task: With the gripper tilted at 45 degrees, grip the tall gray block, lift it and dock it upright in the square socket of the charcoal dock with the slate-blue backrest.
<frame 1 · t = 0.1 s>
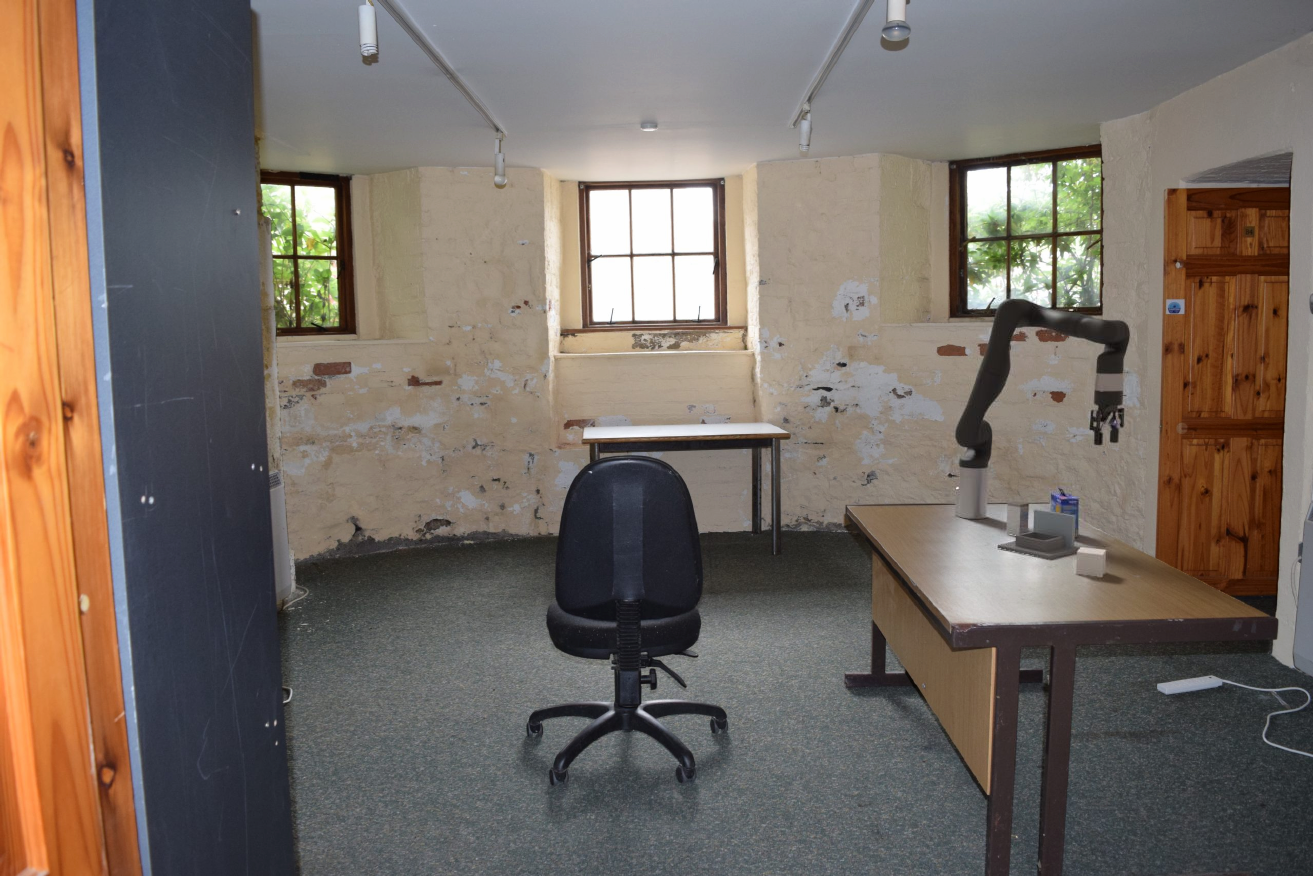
hand: (1106, 443, 256), 29 cm above the table, tool pointing down, fingers open, 8 cm apart
tall gray block: (1017, 534, 269), on the table
white cube: (1090, 574, 225), on the table
dock: (1039, 549, 250), on the table
ink cartridge box: (1063, 534, 269), on the table
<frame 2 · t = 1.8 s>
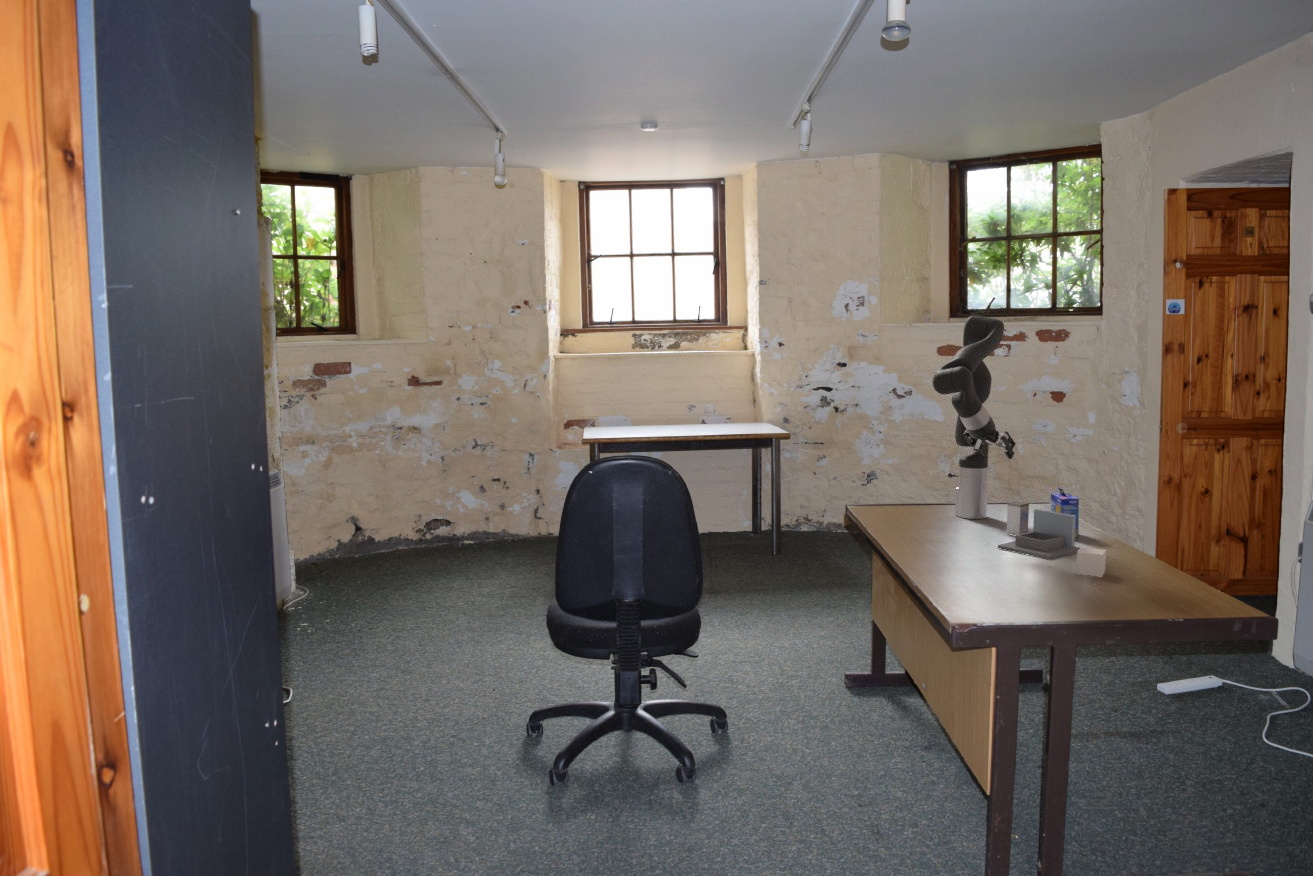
hand: (998, 455, 260), 26 cm above the table, tool tilted 45°, fingers open, 8 cm apart
nothing on the table moved.
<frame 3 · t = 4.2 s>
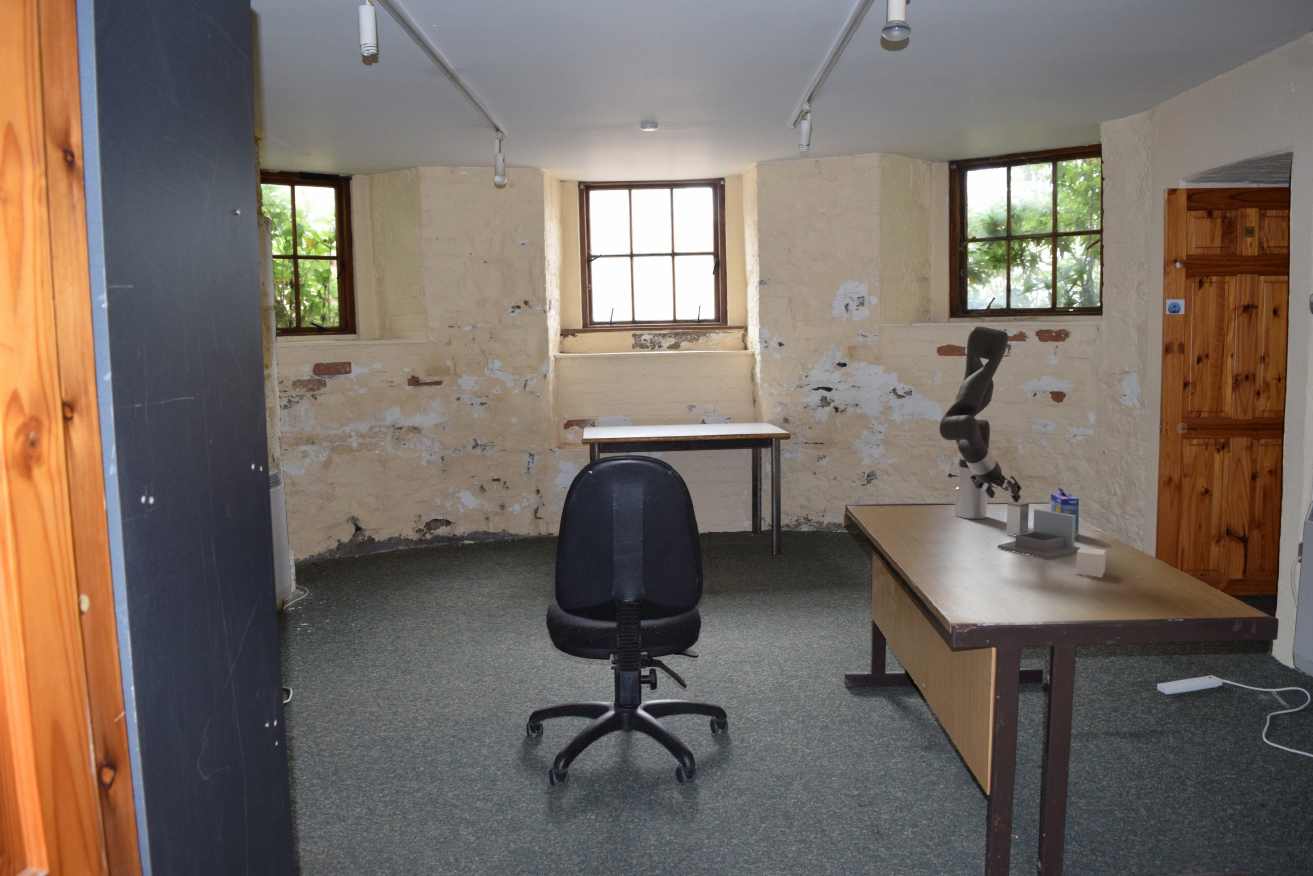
hand: (1005, 497, 264), 12 cm above the table, tool tilted 45°, fingers open, 8 cm apart
nothing on the table moved.
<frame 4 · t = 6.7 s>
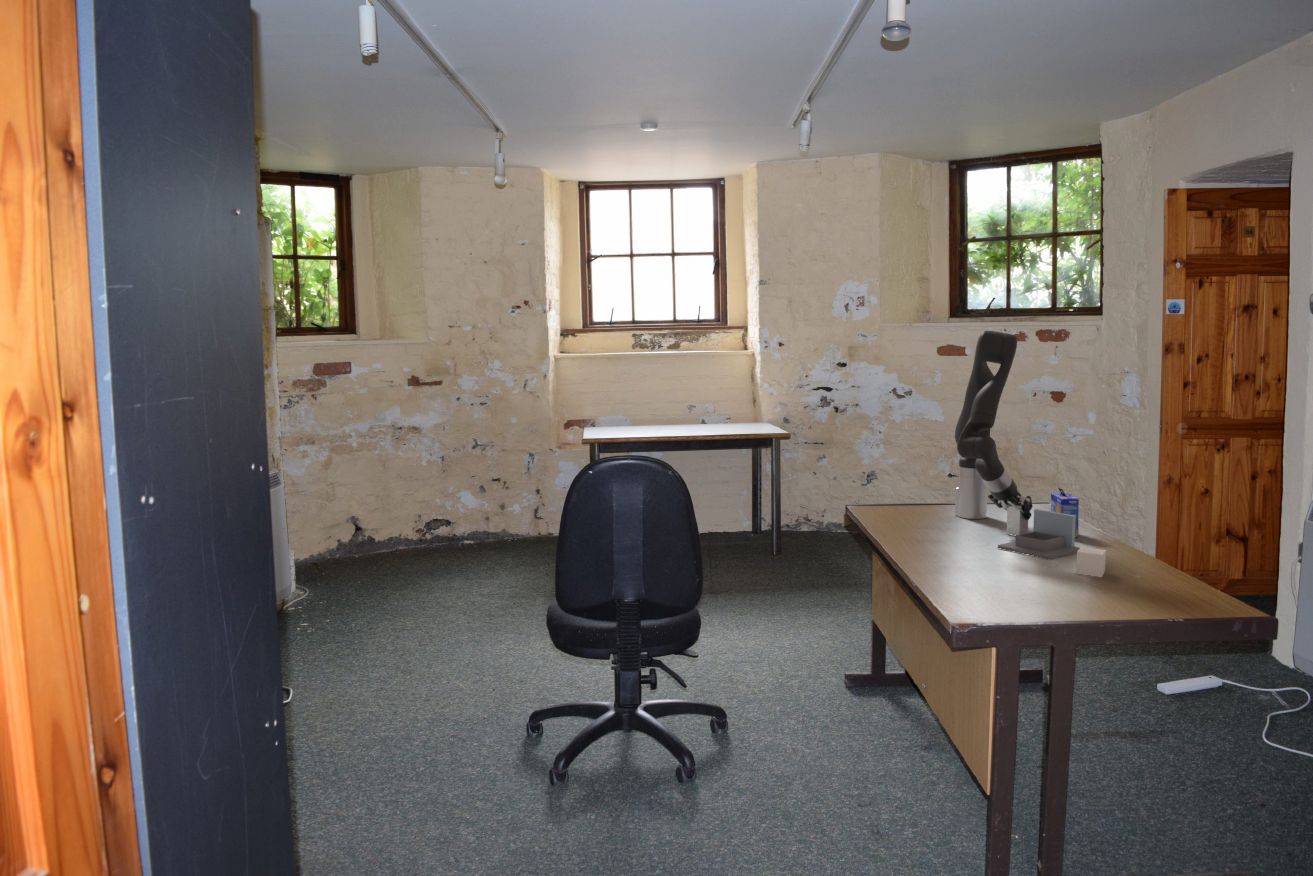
hand: (1021, 516, 269), 6 cm above the table, tool tilted 45°, fingers closed on tall gray block, 4 cm apart
tall gray block: (1017, 534, 269), on the table, touching gripper
everything else where it was.
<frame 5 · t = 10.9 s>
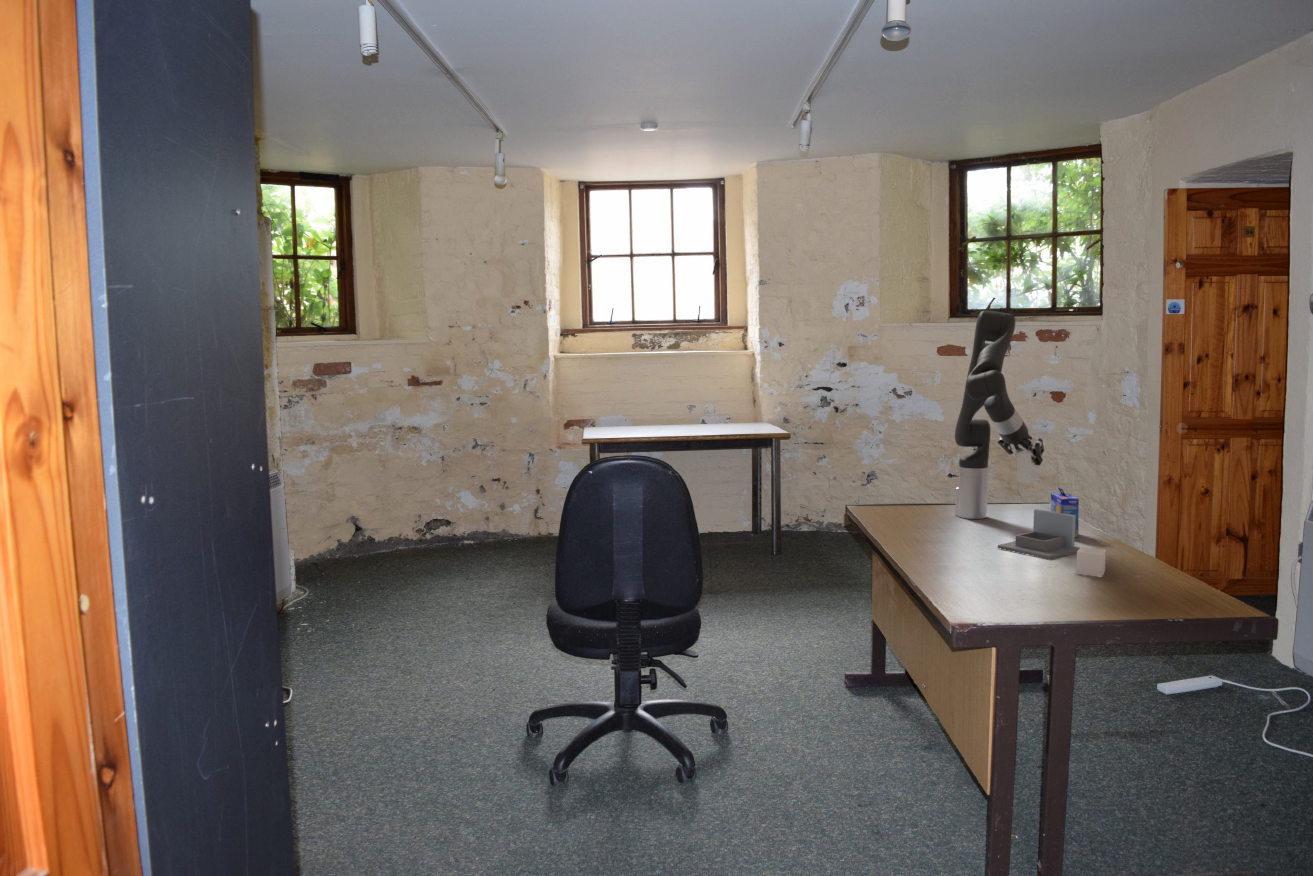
hand: (1032, 462, 260), 24 cm above the table, tool tilted 45°, fingers closed on tall gray block, 4 cm apart
tall gray block: (1027, 481, 259), point 18 cm above the table, touching gripper
everything else where it was.
when the fingers open (8 cm above the table, at t = 15.1 s): tall gray block drops 1 cm, resting on dock.
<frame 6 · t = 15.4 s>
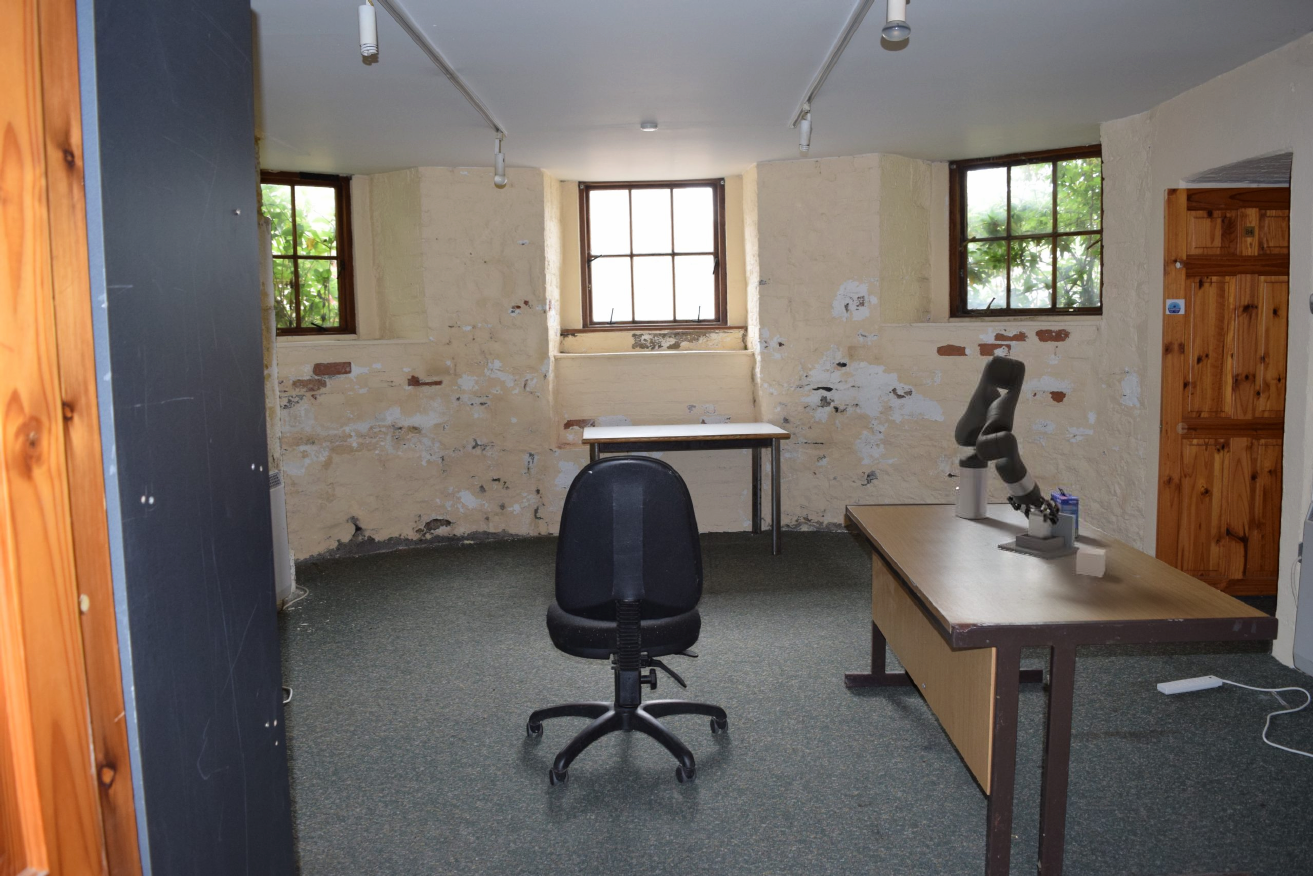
hand: (1043, 520, 250), 8 cm above the table, tool tilted 45°, fingers open, 7 cm apart
tall gray block: (1039, 546, 250), point 1 cm above the table, touching dock
everything else where it was.
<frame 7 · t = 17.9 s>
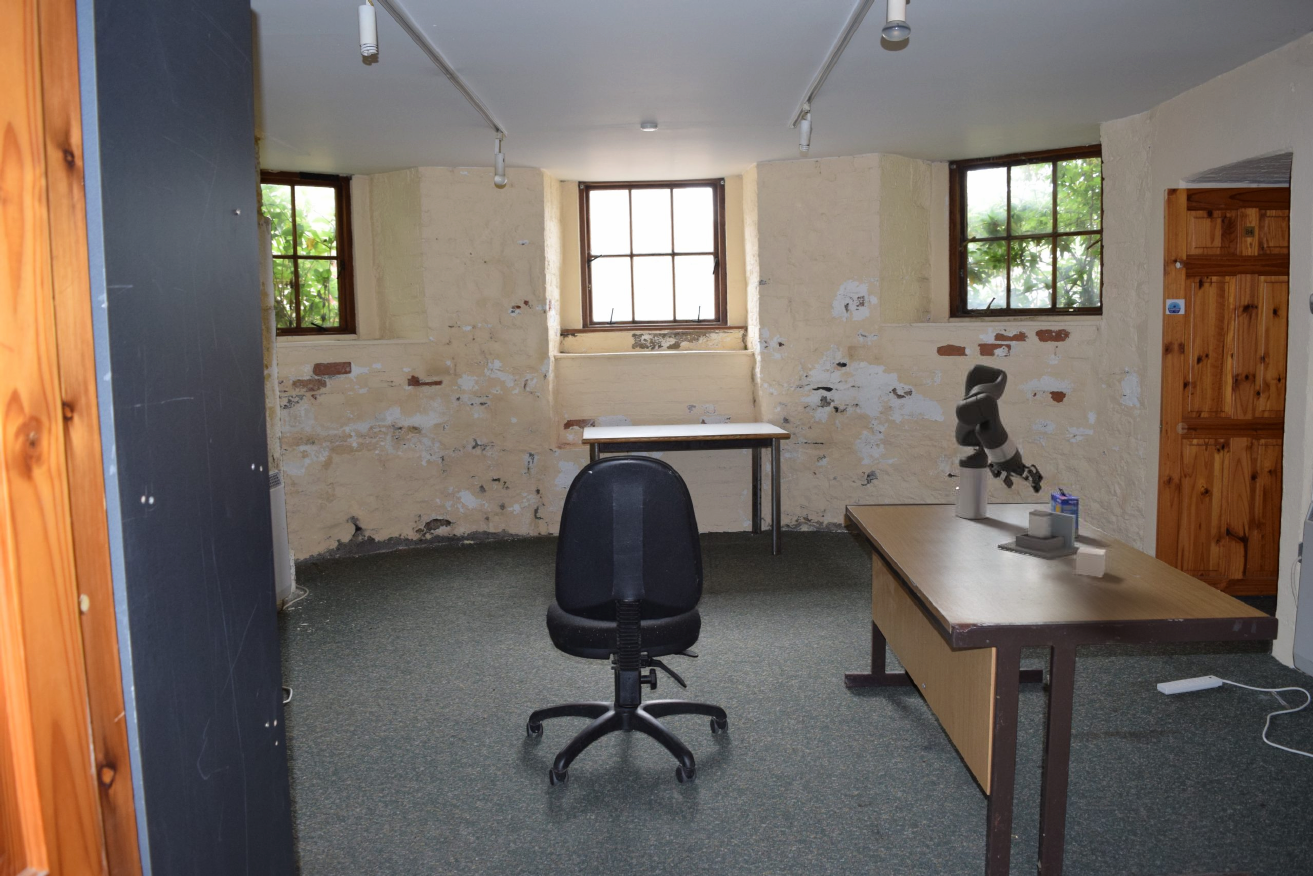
hand: (1024, 488, 243), 19 cm above the table, tool tilted 45°, fingers open, 8 cm apart
nothing on the table moved.
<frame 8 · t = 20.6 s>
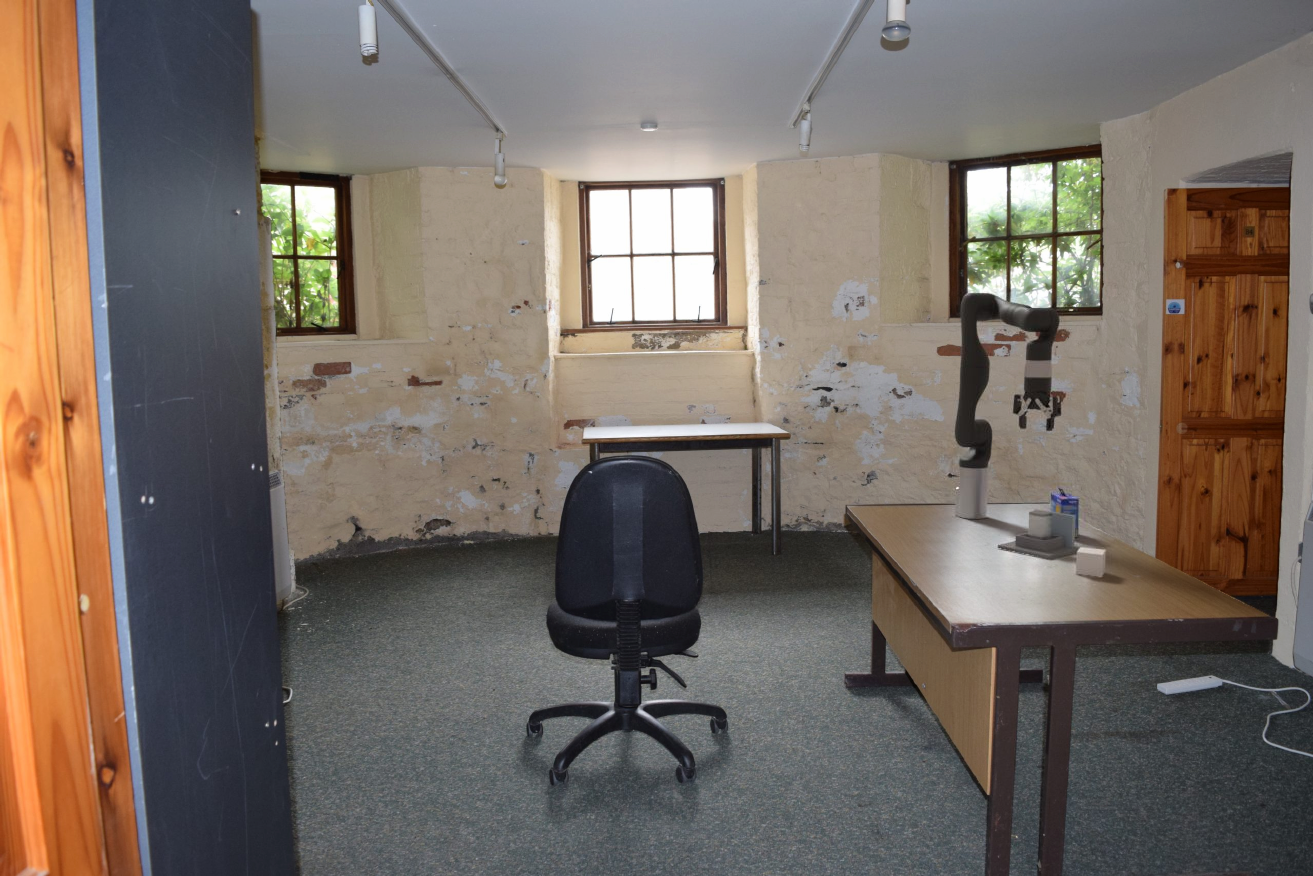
hand: (1035, 429, 261), 33 cm above the table, tool pointing down, fingers open, 8 cm apart
nothing on the table moved.
at the end: tall gray block 0.0 cm off-centre on the dock, point 1.0 cm above the dock's base; tall gray block tilted 0°; the gripper is holding nothing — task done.
